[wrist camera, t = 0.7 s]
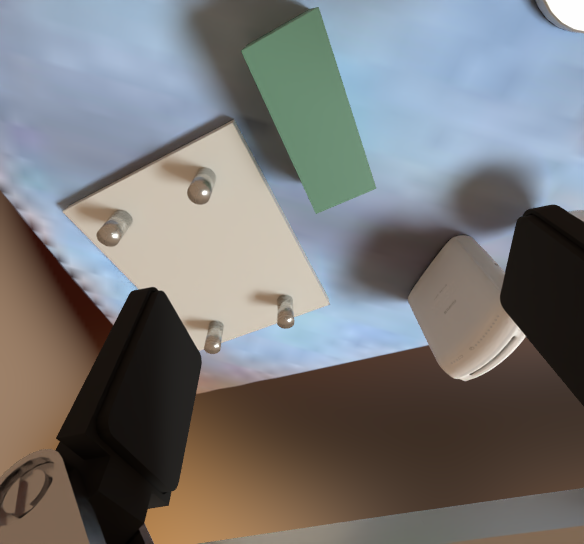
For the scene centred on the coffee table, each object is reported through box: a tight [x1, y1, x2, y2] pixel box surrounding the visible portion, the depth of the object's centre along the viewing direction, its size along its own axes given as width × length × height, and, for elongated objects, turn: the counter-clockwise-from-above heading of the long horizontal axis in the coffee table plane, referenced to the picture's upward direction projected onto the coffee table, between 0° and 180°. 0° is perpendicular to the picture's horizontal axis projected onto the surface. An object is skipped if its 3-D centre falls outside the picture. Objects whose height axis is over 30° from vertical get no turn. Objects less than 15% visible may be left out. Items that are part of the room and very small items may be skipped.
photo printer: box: [408, 235, 526, 381], centre depth 33 cm, size 10×4×12 cm, turn 160°
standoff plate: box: [63, 120, 330, 354], centre depth 34 cm, size 18×22×5 cm
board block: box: [241, 7, 376, 214], centre depth 25 cm, size 5×12×6 cm, turn 25°
